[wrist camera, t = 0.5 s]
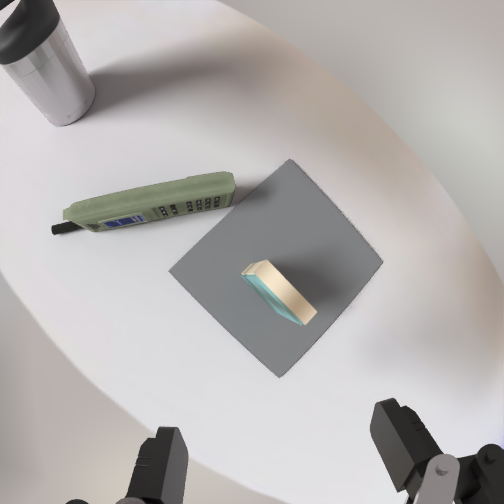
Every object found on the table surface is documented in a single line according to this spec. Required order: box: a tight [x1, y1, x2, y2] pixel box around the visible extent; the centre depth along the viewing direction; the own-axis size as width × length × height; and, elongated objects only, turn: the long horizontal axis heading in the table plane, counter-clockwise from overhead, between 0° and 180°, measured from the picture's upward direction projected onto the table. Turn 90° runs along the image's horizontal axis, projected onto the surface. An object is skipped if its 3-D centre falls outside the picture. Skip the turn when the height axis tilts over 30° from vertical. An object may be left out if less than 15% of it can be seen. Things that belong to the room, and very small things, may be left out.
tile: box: [241, 260, 317, 325], centre depth 31 cm, size 7×2×10 cm, turn 45°
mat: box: [169, 159, 382, 378], centre depth 37 cm, size 20×22×1 cm
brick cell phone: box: [52, 172, 236, 235], centre depth 32 cm, size 7×3×25 cm
